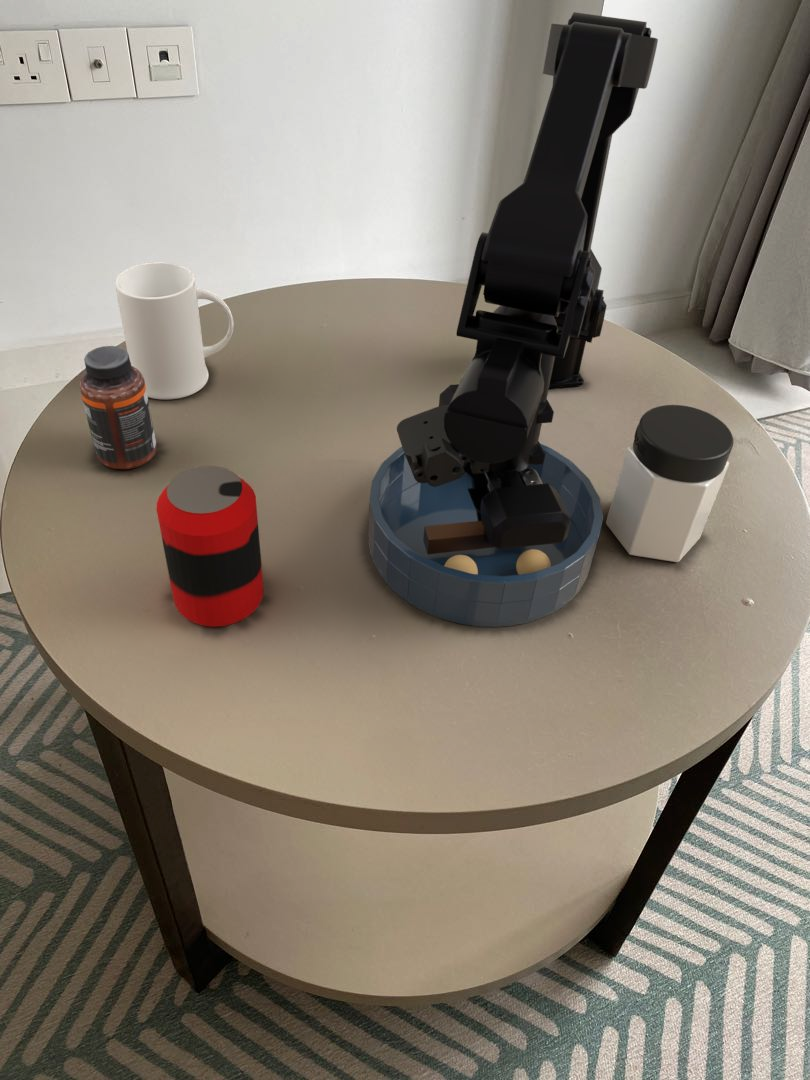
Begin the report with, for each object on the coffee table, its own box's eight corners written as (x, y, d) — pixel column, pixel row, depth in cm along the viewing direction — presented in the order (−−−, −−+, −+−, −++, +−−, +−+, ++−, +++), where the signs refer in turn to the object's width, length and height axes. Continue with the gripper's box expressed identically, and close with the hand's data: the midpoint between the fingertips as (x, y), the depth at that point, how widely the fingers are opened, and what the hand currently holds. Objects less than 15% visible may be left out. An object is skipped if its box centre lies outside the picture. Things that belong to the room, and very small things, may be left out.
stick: (539, 528, 80) (542, 514, 79) (545, 542, 79) (548, 527, 78) (423, 540, 78) (424, 526, 77) (427, 554, 77) (428, 540, 76)
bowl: (548, 465, 90) (557, 421, 86) (624, 611, 76) (639, 567, 72) (352, 482, 86) (352, 438, 83) (392, 641, 72) (395, 595, 68)
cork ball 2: (555, 548, 75) (557, 583, 75) (540, 546, 78) (542, 579, 78) (523, 552, 74) (525, 587, 75) (509, 550, 77) (512, 583, 77)
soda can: (262, 628, 72) (252, 521, 64) (169, 630, 71) (147, 522, 63) (265, 563, 78) (257, 457, 69) (179, 565, 77) (160, 458, 69)
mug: (240, 358, 102) (231, 261, 93) (235, 400, 96) (226, 300, 87) (136, 358, 101) (119, 259, 92) (125, 400, 94) (105, 299, 86)
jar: (637, 490, 88) (668, 390, 80) (711, 528, 84) (751, 428, 76) (591, 534, 83) (619, 433, 75) (667, 577, 79) (706, 474, 71)
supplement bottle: (168, 444, 89) (152, 347, 82) (137, 478, 85) (117, 380, 77) (117, 430, 91) (97, 334, 83) (84, 463, 86) (59, 365, 79)
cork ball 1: (478, 552, 74) (479, 587, 74) (476, 556, 77) (477, 590, 77) (442, 553, 74) (443, 588, 74) (442, 557, 77) (443, 591, 77)
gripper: (386, 329, 72) (379, 475, 83) (437, 470, 59) (421, 621, 70) (514, 322, 74) (492, 465, 85) (591, 457, 61) (553, 606, 72)
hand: (487, 533), depth 78 cm, fingers closed on stick, 2 cm apart
